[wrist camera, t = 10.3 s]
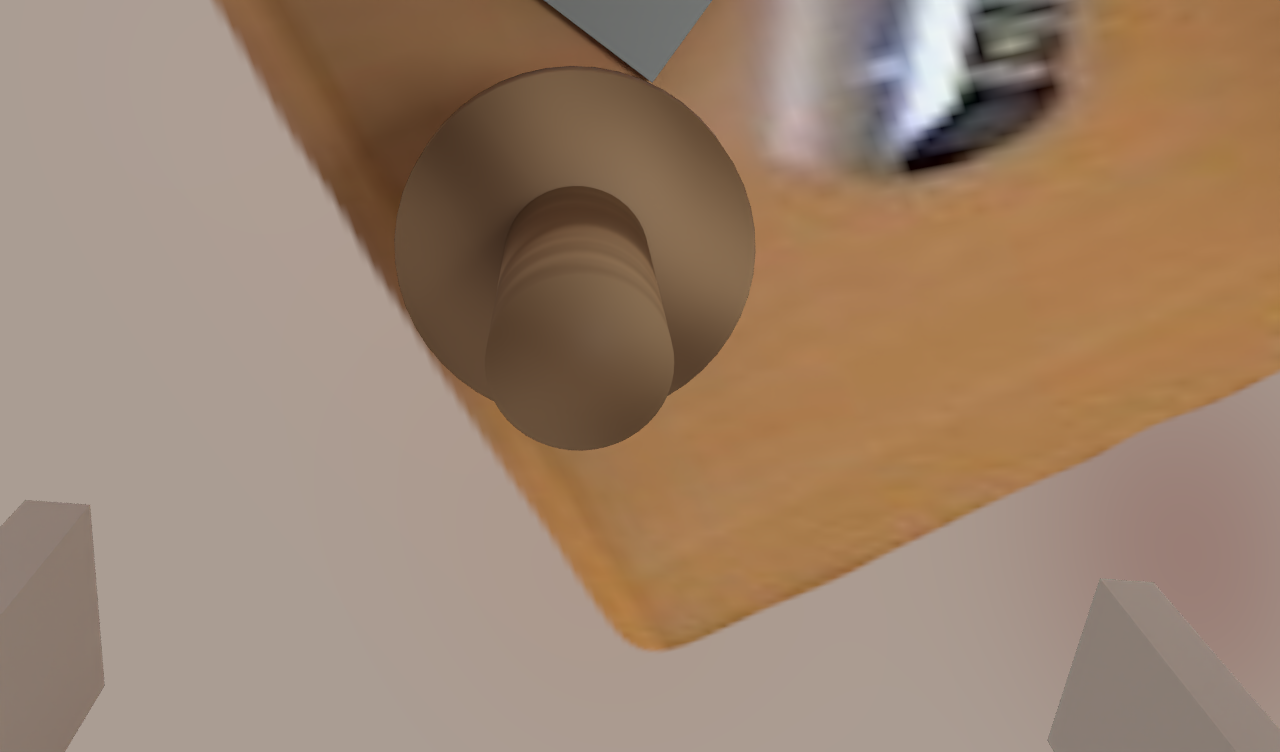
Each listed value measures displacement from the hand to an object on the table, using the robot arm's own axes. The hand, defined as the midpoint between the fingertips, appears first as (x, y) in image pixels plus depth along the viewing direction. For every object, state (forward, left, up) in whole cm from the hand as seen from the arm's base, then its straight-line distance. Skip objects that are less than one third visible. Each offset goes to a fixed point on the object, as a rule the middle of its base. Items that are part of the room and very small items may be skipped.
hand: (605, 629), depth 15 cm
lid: (0, 0, -19) cm, 19 cm away
